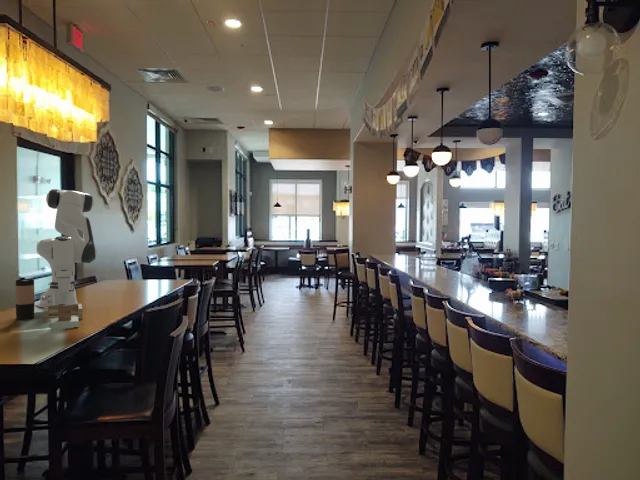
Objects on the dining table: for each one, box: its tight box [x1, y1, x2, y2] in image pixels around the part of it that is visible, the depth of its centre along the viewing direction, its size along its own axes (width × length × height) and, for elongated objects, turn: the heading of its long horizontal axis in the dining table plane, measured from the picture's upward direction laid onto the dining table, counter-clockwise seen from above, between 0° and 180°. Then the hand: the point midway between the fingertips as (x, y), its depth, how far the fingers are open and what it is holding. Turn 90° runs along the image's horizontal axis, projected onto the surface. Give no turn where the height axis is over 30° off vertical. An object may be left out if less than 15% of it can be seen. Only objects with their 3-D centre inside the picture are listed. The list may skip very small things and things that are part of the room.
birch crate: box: [43, 302, 83, 323], centre depth 218 cm, size 16×16×6 cm
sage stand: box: [50, 317, 80, 331], centre depth 203 cm, size 11×11×3 cm
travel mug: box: [15, 278, 36, 321], centre depth 213 cm, size 8×8×20 cm
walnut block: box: [58, 304, 71, 321], centre depth 203 cm, size 5×5×7 cm
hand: (64, 301), depth 203 cm, fingers open, 8 cm apart
